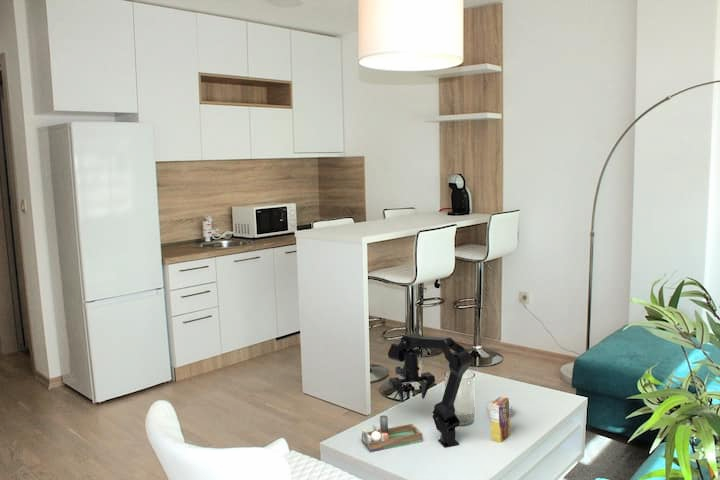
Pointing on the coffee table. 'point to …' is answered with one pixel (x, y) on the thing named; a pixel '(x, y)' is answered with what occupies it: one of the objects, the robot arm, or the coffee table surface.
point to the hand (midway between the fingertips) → (412, 400)
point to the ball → (375, 436)
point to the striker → (383, 426)
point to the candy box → (500, 419)
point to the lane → (392, 437)
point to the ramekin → (489, 408)
